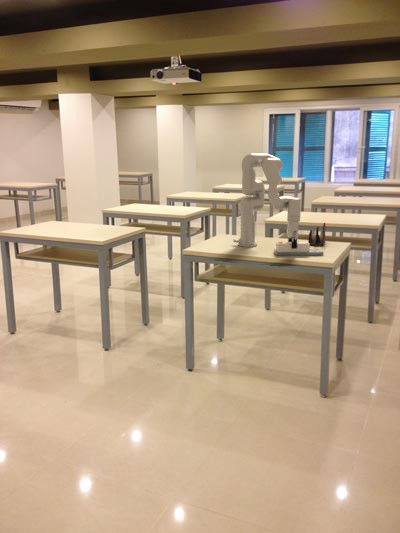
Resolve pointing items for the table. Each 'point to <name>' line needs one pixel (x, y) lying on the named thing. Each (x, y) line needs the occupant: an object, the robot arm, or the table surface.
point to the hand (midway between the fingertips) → (292, 246)
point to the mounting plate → (300, 253)
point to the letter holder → (317, 238)
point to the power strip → (287, 246)
